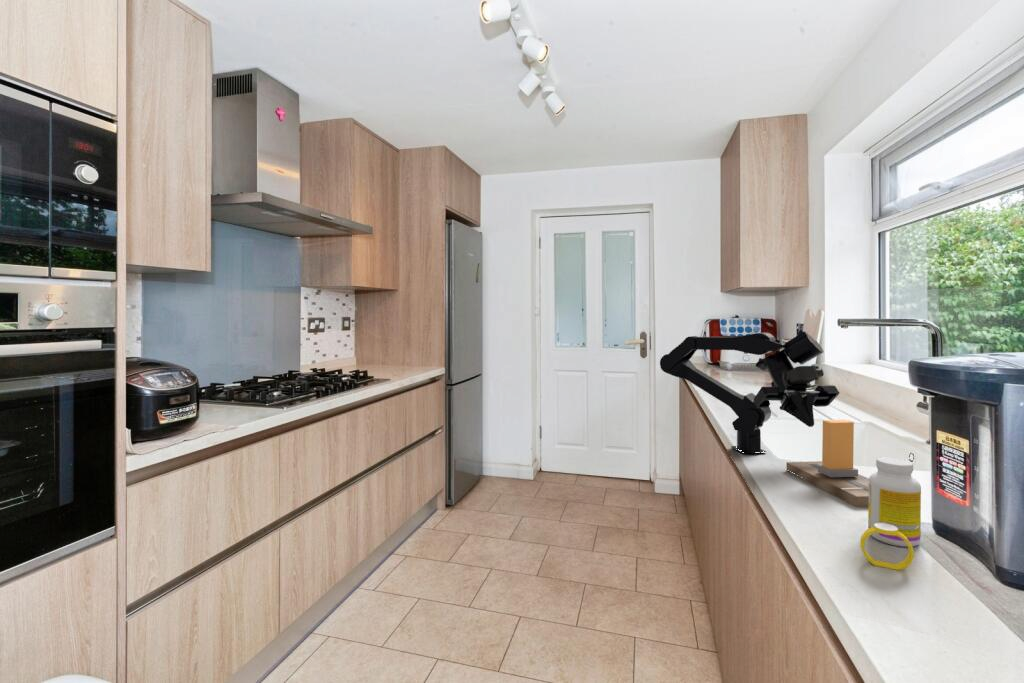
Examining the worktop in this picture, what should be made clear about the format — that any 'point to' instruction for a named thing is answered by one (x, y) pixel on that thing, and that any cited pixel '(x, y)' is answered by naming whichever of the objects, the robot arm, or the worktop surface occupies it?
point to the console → (834, 483)
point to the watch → (887, 530)
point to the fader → (838, 449)
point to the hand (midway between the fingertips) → (811, 425)
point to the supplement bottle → (895, 501)
